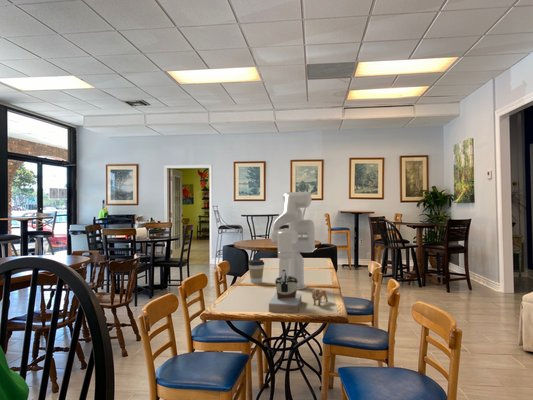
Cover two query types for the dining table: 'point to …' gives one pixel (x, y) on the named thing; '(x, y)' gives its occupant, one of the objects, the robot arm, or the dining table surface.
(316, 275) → the dining table surface
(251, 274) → the coffee cup
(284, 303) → the pedestal
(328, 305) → the dining table surface
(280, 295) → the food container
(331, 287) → the dining table surface
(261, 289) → the dining table surface
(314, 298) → the lion figurine
